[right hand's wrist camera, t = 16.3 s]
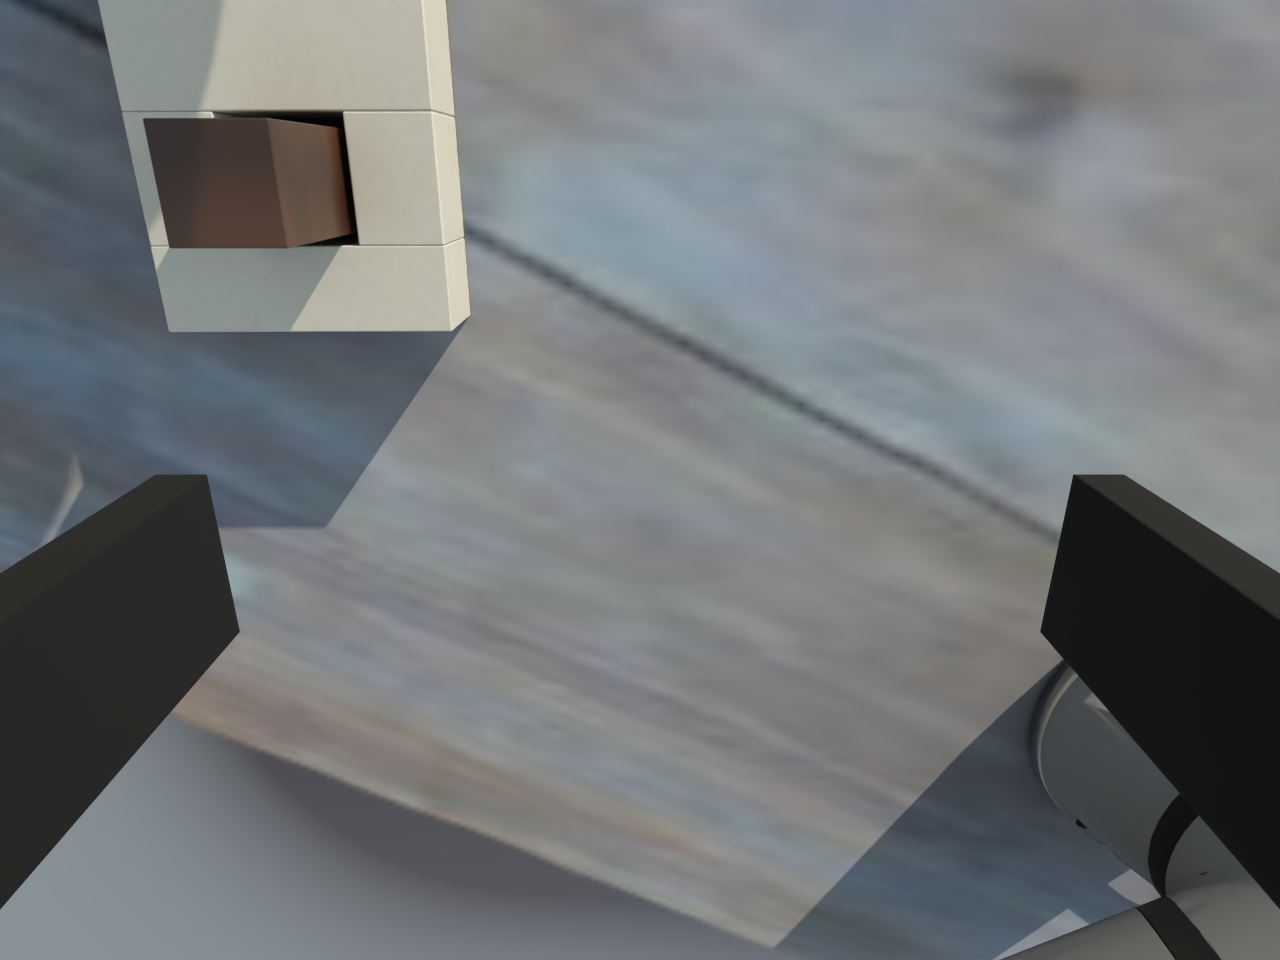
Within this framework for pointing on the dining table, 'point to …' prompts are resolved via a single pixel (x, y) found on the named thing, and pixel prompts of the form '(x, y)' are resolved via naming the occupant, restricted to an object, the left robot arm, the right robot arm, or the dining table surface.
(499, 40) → the dining table surface
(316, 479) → the dining table surface
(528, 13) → the dining table surface
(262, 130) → the peg
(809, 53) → the dining table surface
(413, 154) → the peg board
